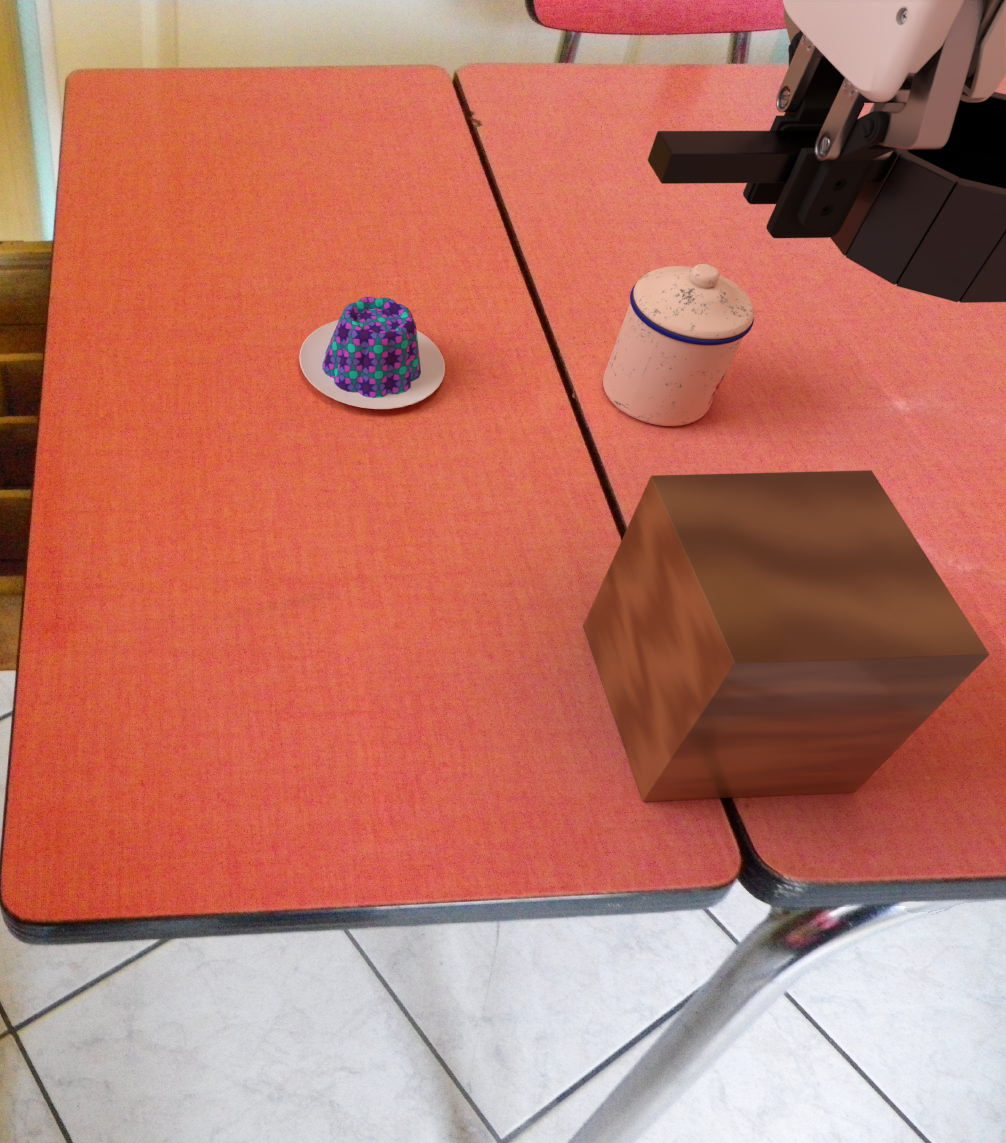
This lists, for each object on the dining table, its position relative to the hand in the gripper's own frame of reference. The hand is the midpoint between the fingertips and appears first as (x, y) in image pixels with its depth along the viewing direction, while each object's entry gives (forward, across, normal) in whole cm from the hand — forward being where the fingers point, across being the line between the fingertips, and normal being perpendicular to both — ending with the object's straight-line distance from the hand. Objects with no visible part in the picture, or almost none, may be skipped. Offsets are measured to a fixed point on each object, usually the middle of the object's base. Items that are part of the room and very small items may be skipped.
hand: (788, 214), depth 48 cm
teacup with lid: (+30, +24, -11) cm, 40 cm away
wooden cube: (+30, -8, -5) cm, 31 cm away
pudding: (+30, +26, +12) cm, 41 cm away
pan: (+1, 0, -3) cm, 3 cm away
